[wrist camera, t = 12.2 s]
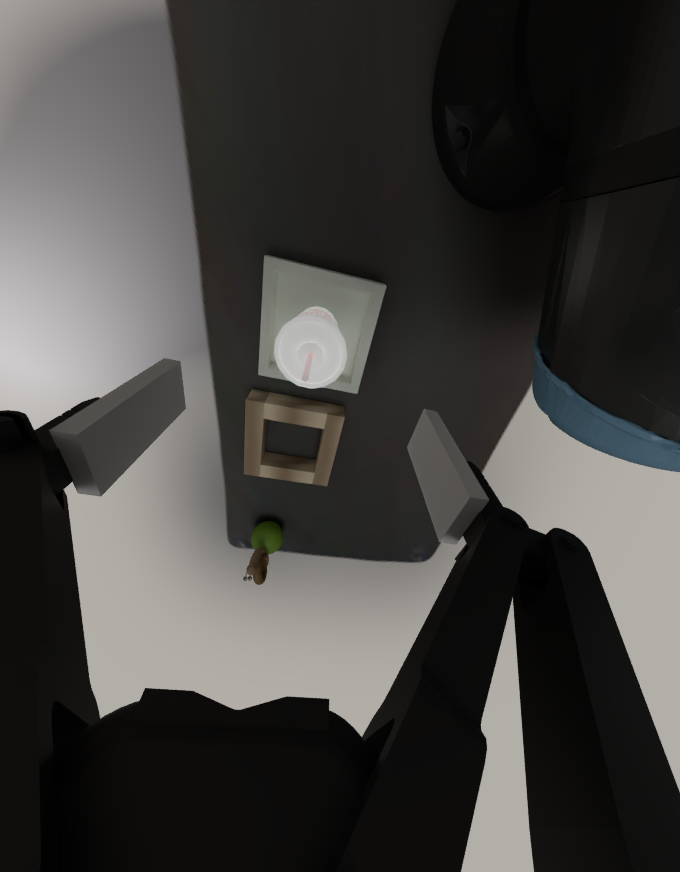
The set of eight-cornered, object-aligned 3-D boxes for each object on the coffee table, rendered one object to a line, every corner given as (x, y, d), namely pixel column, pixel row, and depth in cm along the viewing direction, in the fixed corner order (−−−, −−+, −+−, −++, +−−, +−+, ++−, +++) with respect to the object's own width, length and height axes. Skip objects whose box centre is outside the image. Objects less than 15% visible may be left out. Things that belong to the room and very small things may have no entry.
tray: (382, 283, 28) (386, 285, 26) (355, 385, 35) (357, 393, 33) (269, 255, 27) (264, 255, 25) (263, 367, 33) (258, 374, 31)
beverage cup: (277, 327, 30) (240, 375, 19) (317, 284, 28) (303, 309, 16) (316, 366, 33) (306, 431, 21) (356, 330, 30) (368, 380, 19)
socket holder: (344, 406, 36) (344, 417, 34) (327, 472, 43) (327, 486, 40) (252, 388, 35) (245, 399, 32) (249, 460, 41) (243, 474, 39)
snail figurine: (280, 509, 48) (265, 577, 38) (288, 532, 51) (277, 600, 41) (249, 512, 48) (227, 580, 38) (260, 535, 52) (241, 602, 42)
